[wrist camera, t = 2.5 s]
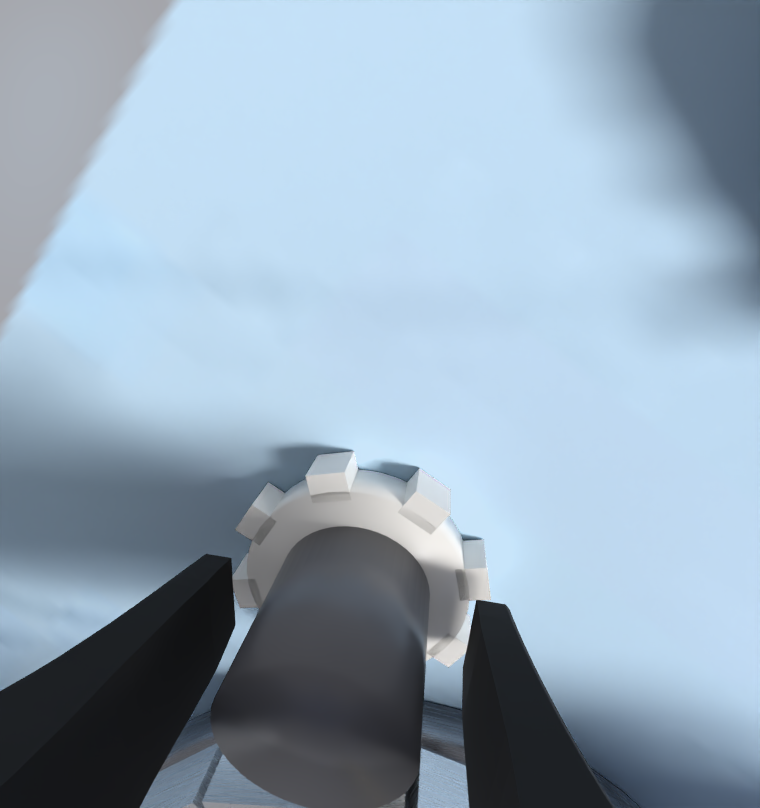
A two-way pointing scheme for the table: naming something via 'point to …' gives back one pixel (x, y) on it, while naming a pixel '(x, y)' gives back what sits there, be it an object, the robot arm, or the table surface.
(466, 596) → the gear
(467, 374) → the table surface
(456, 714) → the bowl
